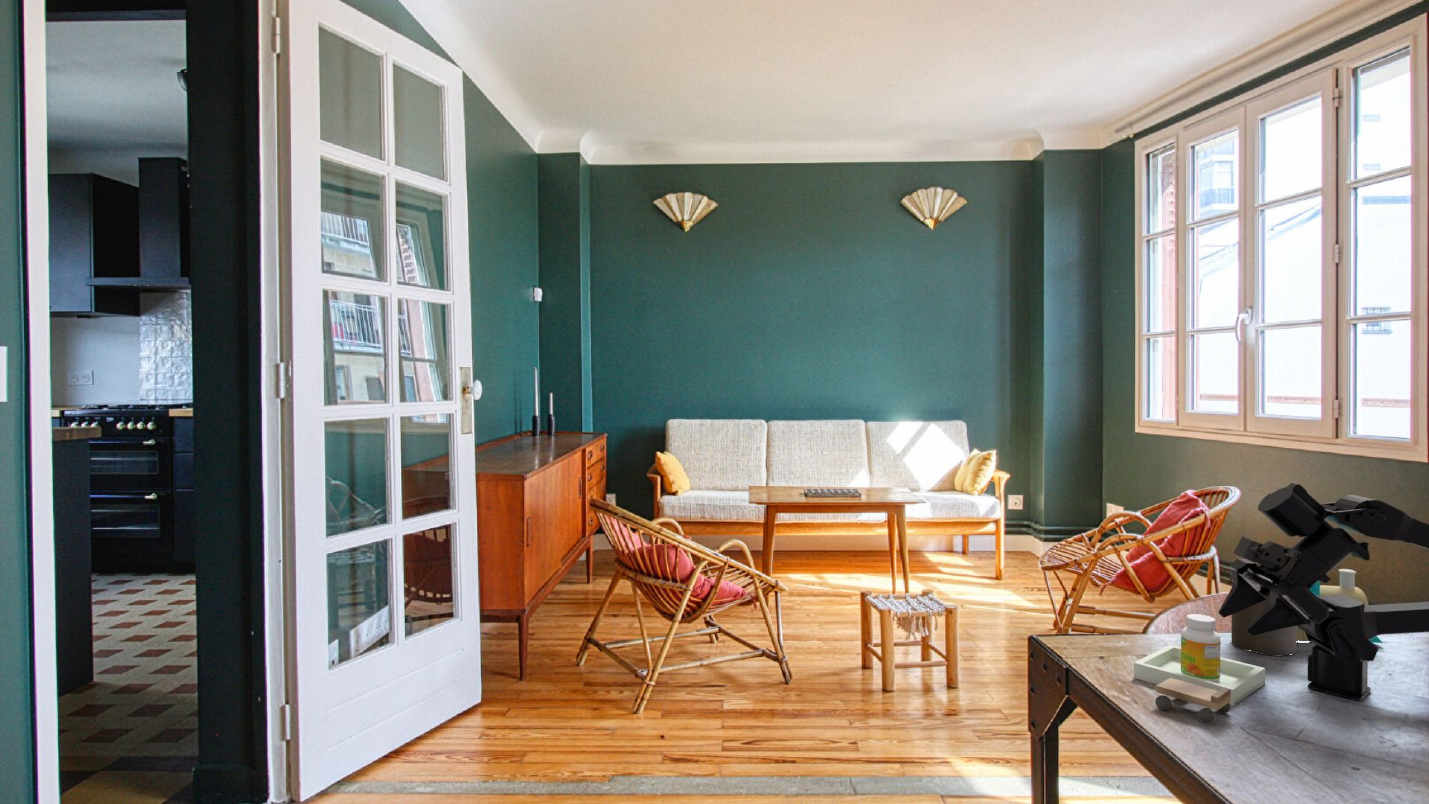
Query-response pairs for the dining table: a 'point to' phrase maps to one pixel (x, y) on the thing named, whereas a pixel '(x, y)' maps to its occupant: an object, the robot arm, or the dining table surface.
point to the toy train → (1345, 588)
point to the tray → (1231, 676)
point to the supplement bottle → (1200, 648)
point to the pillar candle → (1265, 642)
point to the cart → (1194, 698)
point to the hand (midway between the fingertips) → (1234, 623)
